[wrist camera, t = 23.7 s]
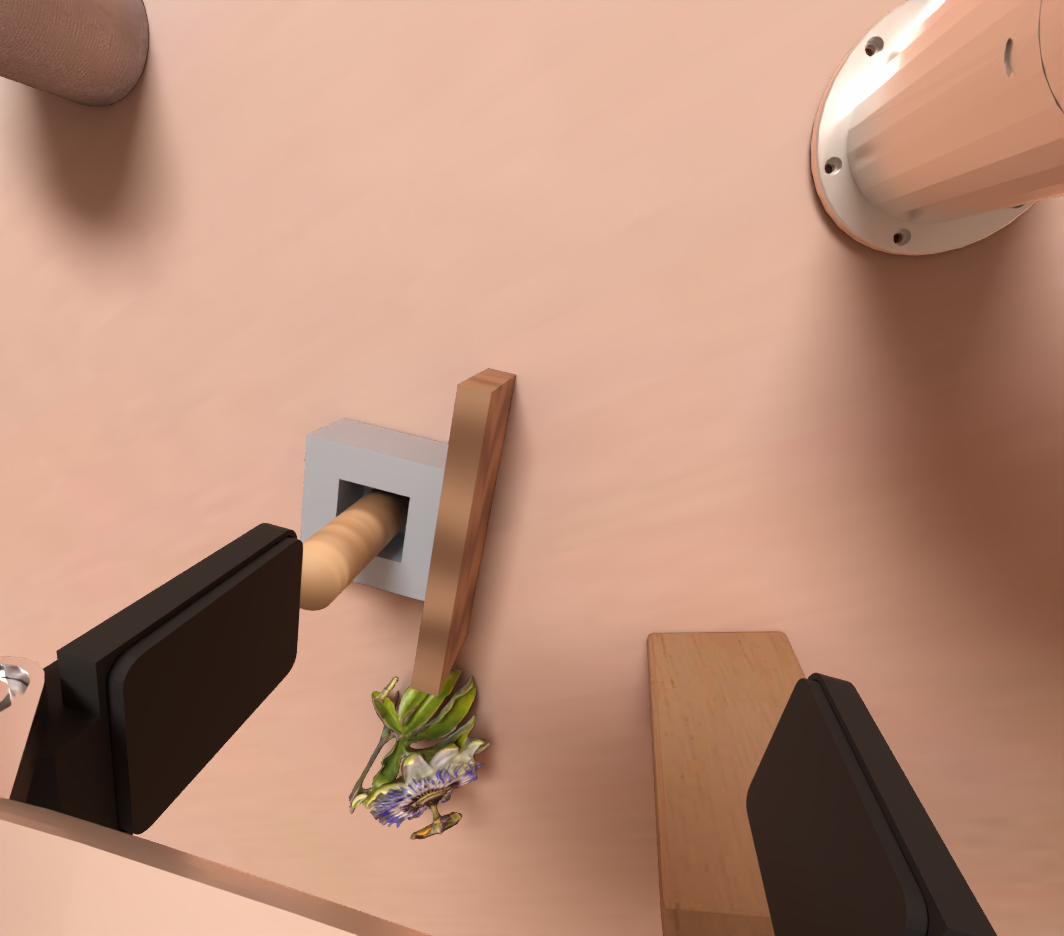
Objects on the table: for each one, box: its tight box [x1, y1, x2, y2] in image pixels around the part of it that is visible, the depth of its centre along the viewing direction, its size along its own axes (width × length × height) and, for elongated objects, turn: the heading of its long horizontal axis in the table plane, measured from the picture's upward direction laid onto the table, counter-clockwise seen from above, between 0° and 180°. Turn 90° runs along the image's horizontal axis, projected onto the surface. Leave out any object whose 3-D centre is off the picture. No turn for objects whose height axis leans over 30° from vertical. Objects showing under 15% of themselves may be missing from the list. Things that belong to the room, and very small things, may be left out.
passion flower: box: [349, 670, 489, 840], centre depth 44 cm, size 11×11×12 cm
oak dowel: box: [300, 488, 410, 611], centre depth 35 cm, size 4×4×12 cm
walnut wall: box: [411, 368, 516, 696], centre depth 38 cm, size 22×2×7 cm, turn 168°
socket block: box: [300, 418, 449, 601], centre depth 39 cm, size 10×10×5 cm
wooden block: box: [647, 632, 806, 936], centre depth 32 cm, size 10×10×20 cm
